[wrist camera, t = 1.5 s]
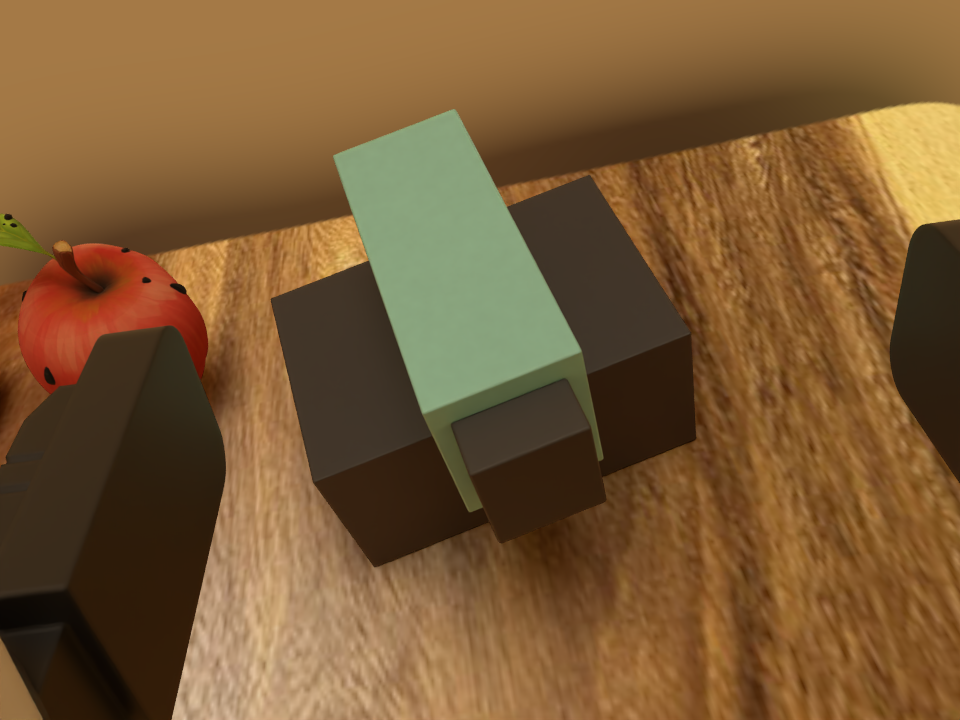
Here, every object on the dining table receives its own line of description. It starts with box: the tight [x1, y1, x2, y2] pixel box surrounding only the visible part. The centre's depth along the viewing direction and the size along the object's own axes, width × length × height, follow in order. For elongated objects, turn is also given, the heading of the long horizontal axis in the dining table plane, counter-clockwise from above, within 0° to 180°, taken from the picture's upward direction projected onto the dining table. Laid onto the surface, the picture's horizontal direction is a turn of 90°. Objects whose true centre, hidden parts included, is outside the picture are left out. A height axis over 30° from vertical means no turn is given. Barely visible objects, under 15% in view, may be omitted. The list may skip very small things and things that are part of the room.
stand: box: [271, 175, 696, 567], centre depth 32 cm, size 12×8×6 cm, turn 108°
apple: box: [0, 214, 208, 394], centre depth 34 cm, size 8×7×10 cm
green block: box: [333, 109, 606, 543], centre depth 26 cm, size 12×4×5 cm, turn 18°
